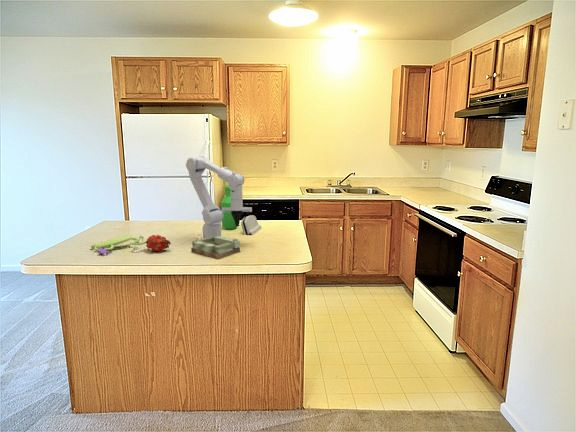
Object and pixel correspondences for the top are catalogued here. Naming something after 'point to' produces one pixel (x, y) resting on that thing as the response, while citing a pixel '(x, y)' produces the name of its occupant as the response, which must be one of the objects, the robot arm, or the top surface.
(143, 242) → the figurine
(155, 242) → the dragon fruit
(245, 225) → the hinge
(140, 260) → the top surface
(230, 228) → the bottle
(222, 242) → the hinged leg
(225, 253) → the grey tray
